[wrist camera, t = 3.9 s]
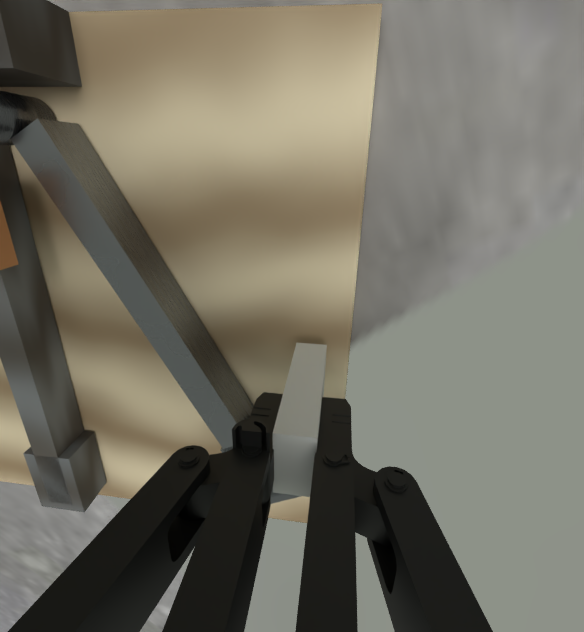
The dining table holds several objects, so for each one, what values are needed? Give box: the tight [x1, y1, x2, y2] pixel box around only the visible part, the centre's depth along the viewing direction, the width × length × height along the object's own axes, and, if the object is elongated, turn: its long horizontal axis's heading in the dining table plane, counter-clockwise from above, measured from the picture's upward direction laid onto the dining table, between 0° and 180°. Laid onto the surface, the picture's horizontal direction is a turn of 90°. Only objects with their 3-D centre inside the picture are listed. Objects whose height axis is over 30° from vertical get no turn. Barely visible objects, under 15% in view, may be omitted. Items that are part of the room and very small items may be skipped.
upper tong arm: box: [0, 91, 301, 504], centre depth 18 cm, size 24×4×3 cm, turn 27°
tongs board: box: [0, 0, 382, 523], centre depth 20 cm, size 28×26×5 cm
